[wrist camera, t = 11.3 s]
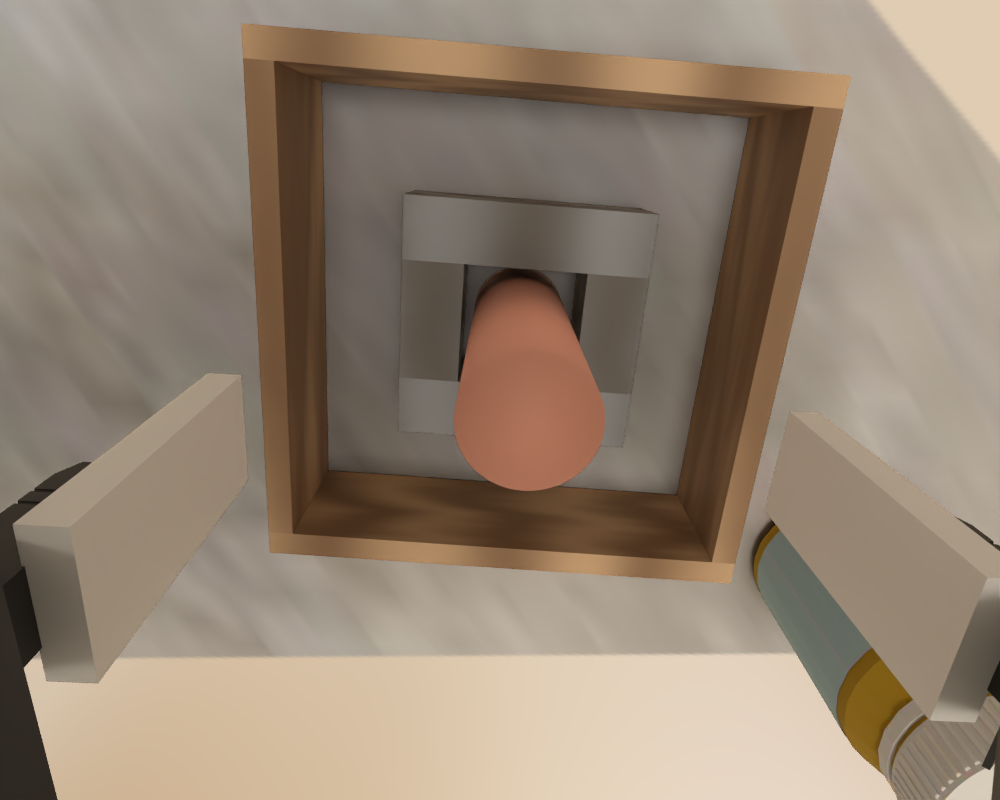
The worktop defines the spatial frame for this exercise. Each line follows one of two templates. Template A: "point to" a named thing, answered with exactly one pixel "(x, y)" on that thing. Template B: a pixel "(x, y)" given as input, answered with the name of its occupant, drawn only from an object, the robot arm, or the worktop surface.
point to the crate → (539, 246)
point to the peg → (526, 387)
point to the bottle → (872, 689)
